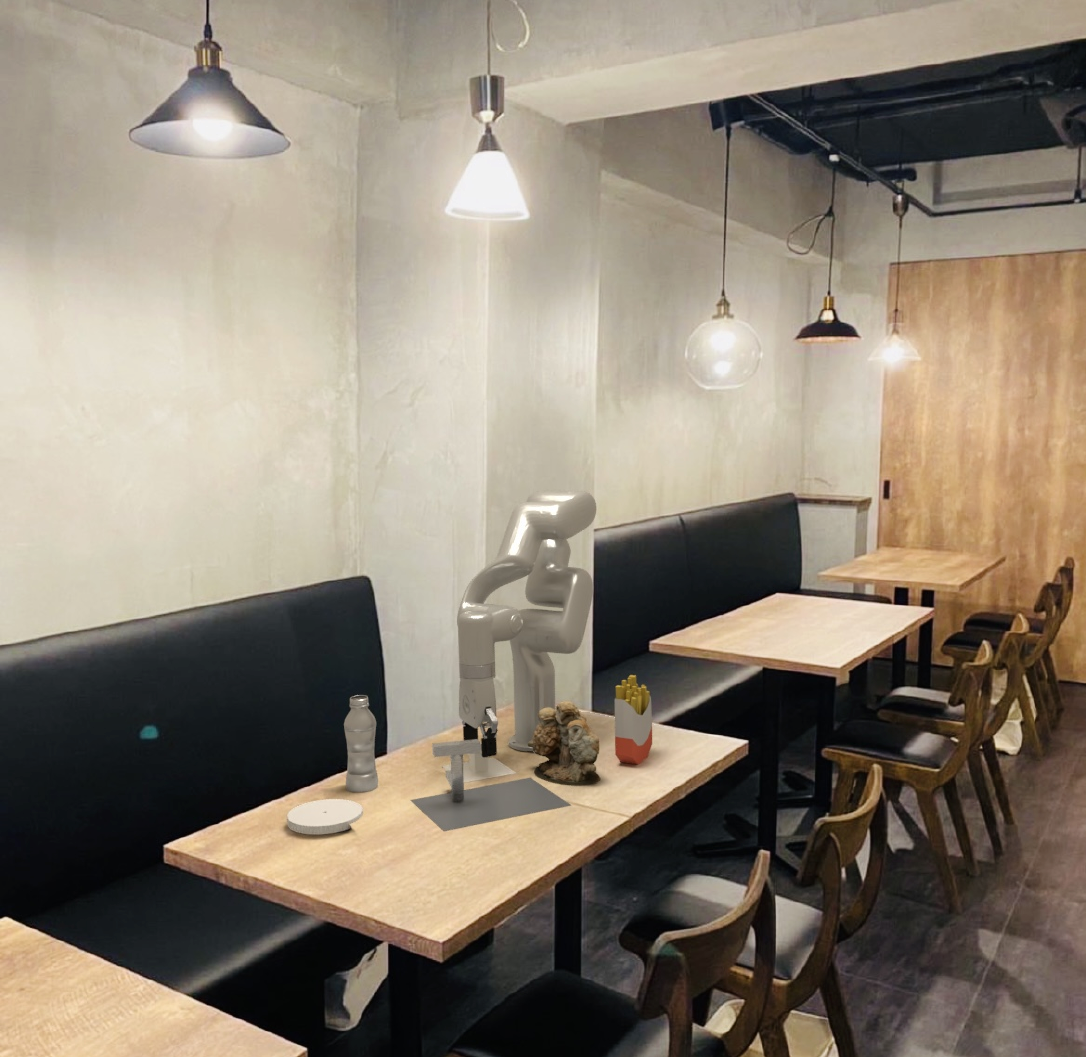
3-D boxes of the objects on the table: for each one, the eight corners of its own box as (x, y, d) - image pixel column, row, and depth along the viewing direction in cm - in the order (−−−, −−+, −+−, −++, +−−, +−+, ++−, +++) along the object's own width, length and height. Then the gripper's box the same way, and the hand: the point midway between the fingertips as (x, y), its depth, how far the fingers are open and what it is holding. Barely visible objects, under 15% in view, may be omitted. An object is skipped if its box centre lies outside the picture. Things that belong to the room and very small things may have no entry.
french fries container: (654, 753, 236) (653, 674, 234) (634, 768, 226) (633, 686, 225) (635, 751, 238) (634, 673, 236) (615, 765, 229) (614, 684, 227)
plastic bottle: (339, 797, 213) (335, 699, 211) (360, 786, 219) (356, 691, 216) (365, 801, 210) (361, 703, 208) (385, 791, 216) (381, 695, 213)
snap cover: (493, 766, 231) (492, 735, 231) (516, 782, 221) (516, 749, 220) (442, 775, 226) (441, 743, 225) (463, 792, 215) (462, 758, 215)
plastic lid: (364, 809, 207) (363, 796, 206) (362, 836, 193) (362, 823, 193) (290, 814, 205) (290, 801, 204) (284, 842, 191) (283, 829, 191)
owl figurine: (513, 782, 220) (511, 701, 218) (548, 767, 229) (546, 690, 227) (583, 799, 209) (582, 714, 207) (617, 783, 218) (616, 701, 216)
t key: (429, 789, 211) (427, 734, 209) (474, 784, 213) (472, 730, 212) (435, 803, 203) (434, 747, 202) (482, 798, 205) (480, 742, 204)
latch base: (530, 784, 218) (530, 777, 217) (571, 812, 202) (571, 805, 201) (410, 807, 206) (410, 799, 206) (444, 839, 190) (443, 831, 190)
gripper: (445, 664, 227) (448, 741, 229) (477, 681, 212) (479, 764, 214) (477, 659, 230) (480, 736, 232) (510, 676, 215) (513, 758, 217)
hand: (479, 749), depth 223 cm, fingers open, 9 cm apart
